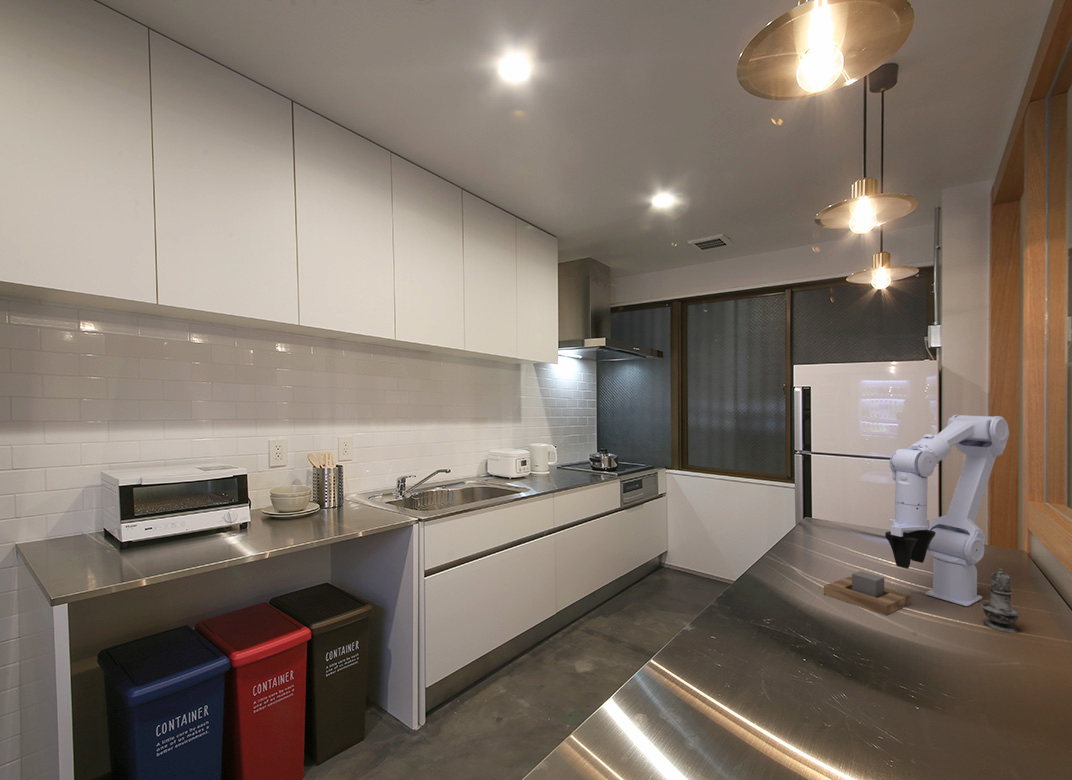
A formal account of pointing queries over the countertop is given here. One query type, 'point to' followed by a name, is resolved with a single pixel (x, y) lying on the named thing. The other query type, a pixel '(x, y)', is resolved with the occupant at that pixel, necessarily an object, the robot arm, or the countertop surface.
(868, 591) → the plug
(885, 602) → the socket frame
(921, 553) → the robot arm
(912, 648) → the countertop surface
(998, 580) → the weathered stone finial
